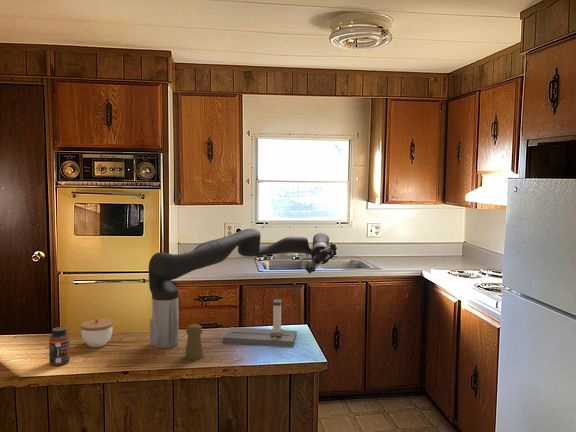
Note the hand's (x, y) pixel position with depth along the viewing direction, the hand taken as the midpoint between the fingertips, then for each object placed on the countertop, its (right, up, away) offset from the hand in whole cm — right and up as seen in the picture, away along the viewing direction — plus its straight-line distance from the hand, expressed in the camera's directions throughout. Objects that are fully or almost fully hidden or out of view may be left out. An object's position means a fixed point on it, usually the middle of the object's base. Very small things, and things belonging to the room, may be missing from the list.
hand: (321, 261), depth 177 cm
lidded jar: (-81, -29, -4) cm, 86 cm away
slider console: (-23, -29, +4) cm, 37 cm away
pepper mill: (-44, -31, -15) cm, 56 cm away
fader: (-16, -27, +3) cm, 32 cm away
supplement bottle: (-86, -31, -22) cm, 94 cm away
